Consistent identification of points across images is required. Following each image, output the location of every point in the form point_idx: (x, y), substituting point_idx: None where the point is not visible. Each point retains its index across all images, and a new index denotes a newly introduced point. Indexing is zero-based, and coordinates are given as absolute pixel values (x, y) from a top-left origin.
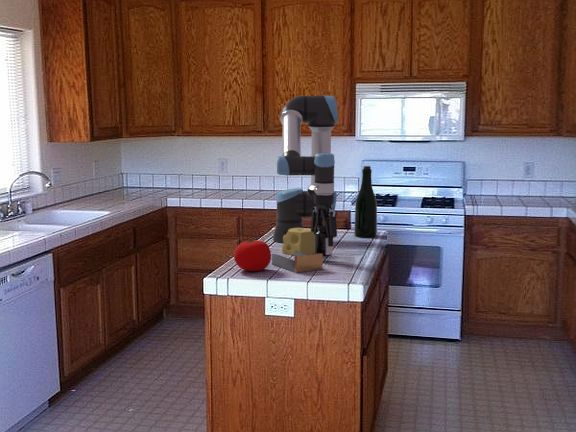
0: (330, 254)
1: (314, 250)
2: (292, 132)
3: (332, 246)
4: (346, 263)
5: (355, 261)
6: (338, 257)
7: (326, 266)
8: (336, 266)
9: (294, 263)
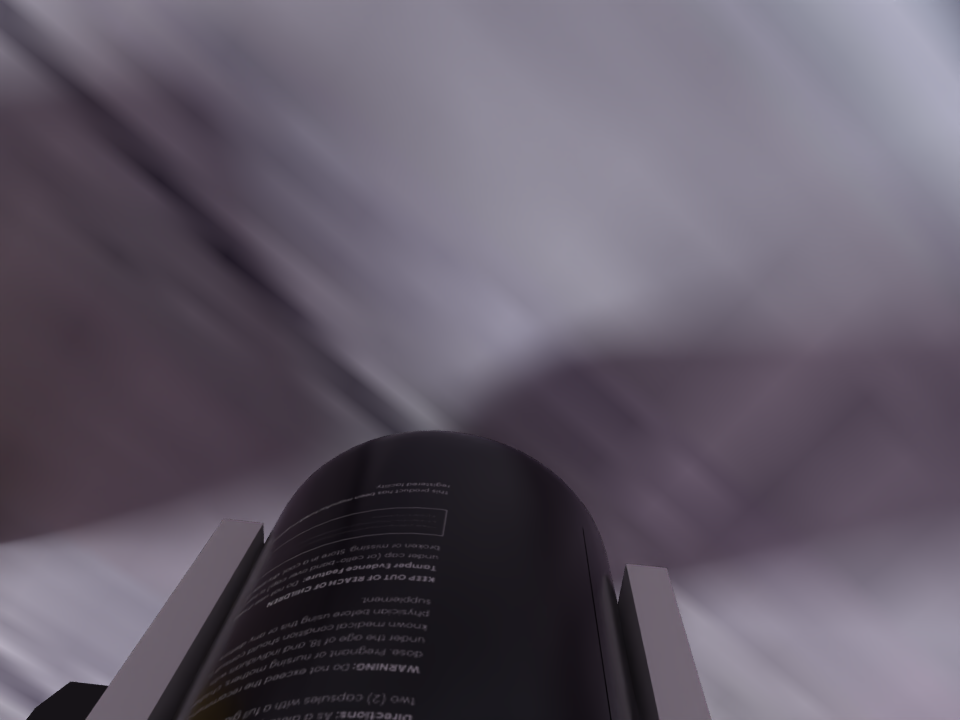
0: (605, 555)
1: None
2: None
3: (704, 699)
4: (847, 323)
5: (866, 47)
6: (352, 66)
7: (755, 680)
8: (869, 587)
9: None
